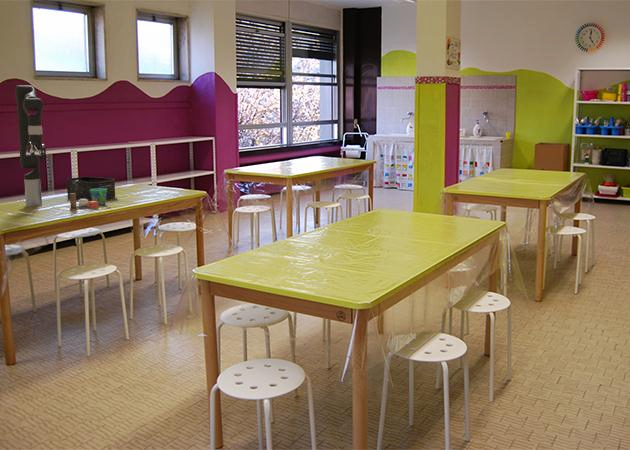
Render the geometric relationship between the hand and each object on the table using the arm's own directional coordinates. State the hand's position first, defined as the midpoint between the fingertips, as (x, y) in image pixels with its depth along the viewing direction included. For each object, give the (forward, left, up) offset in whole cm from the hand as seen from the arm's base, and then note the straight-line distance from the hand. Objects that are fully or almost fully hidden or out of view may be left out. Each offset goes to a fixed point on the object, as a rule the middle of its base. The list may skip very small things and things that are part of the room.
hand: (37, 161), depth 394 cm
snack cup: (+2, +40, -32) cm, 51 cm away
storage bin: (-25, +55, -32) cm, 68 cm away
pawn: (+9, +16, -31) cm, 36 cm away
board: (+6, +21, -32) cm, 38 cm away
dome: (+6, +25, -29) cm, 39 cm away
